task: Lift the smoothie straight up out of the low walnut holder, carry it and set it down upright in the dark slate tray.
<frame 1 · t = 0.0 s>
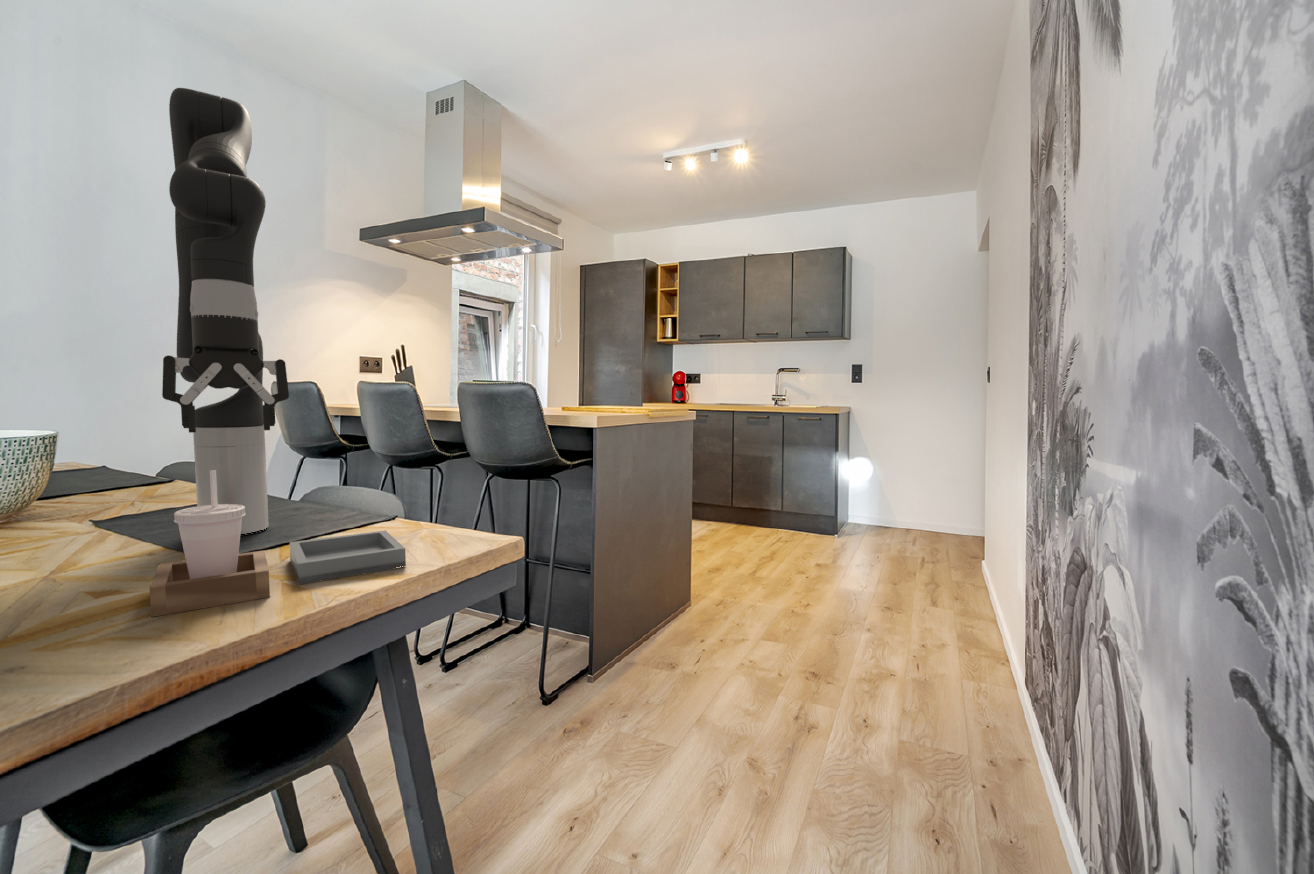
hand: (230, 431, 81), 17 cm above the table, tool pointing down, fingers open, 8 cm apart
holder: (214, 593, 65), on the table
smoothie: (214, 594, 65), resting in holder
tray: (347, 563, 76), on the table
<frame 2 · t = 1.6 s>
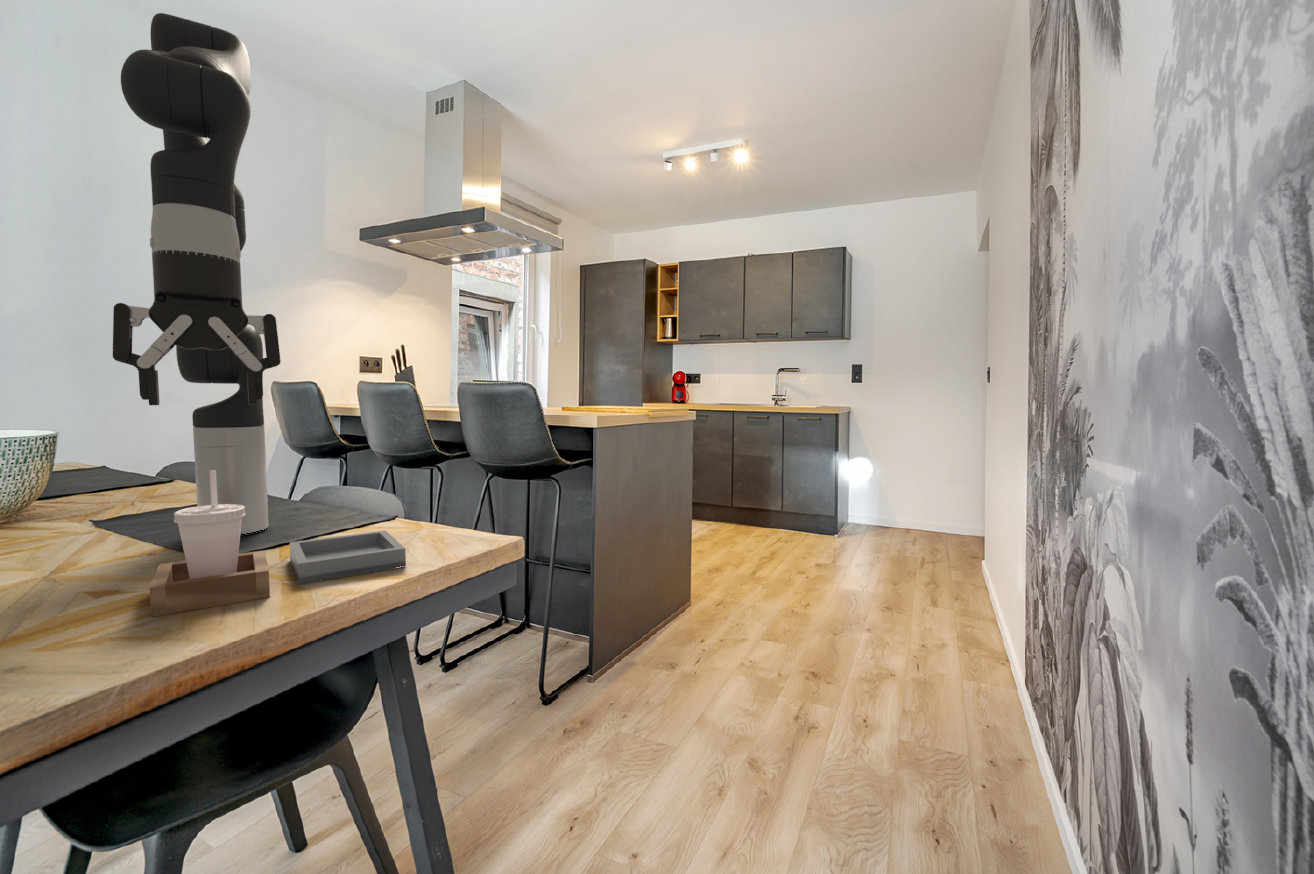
hand: (205, 404, 63), 21 cm above the table, tool pointing down, fingers open, 8 cm apart
nothing on the table moved.
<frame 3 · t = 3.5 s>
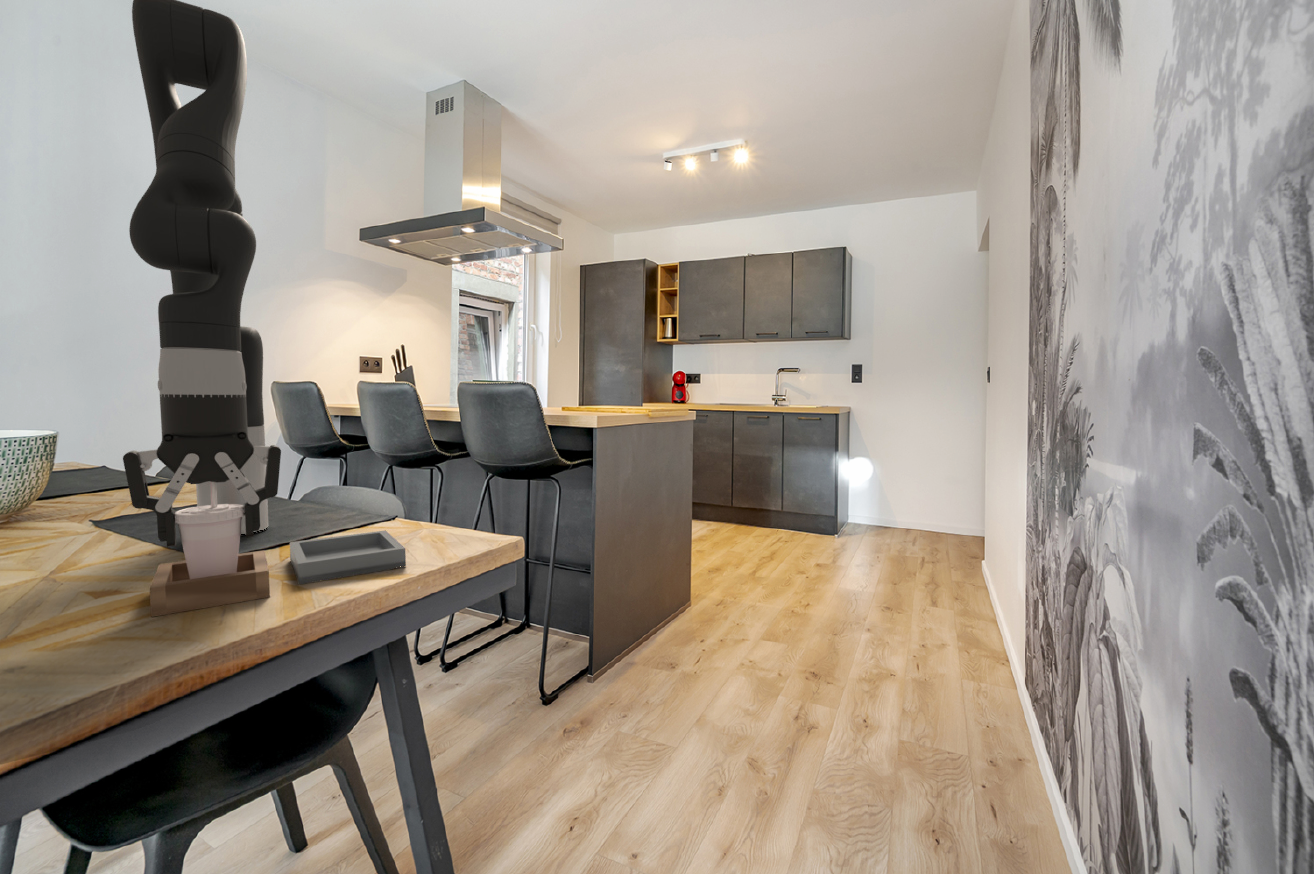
hand: (211, 539, 64), 6 cm above the table, tool pointing down, fingers closed on smoothie, 6 cm apart
smoothie: (214, 594, 65), resting in holder, touching gripper
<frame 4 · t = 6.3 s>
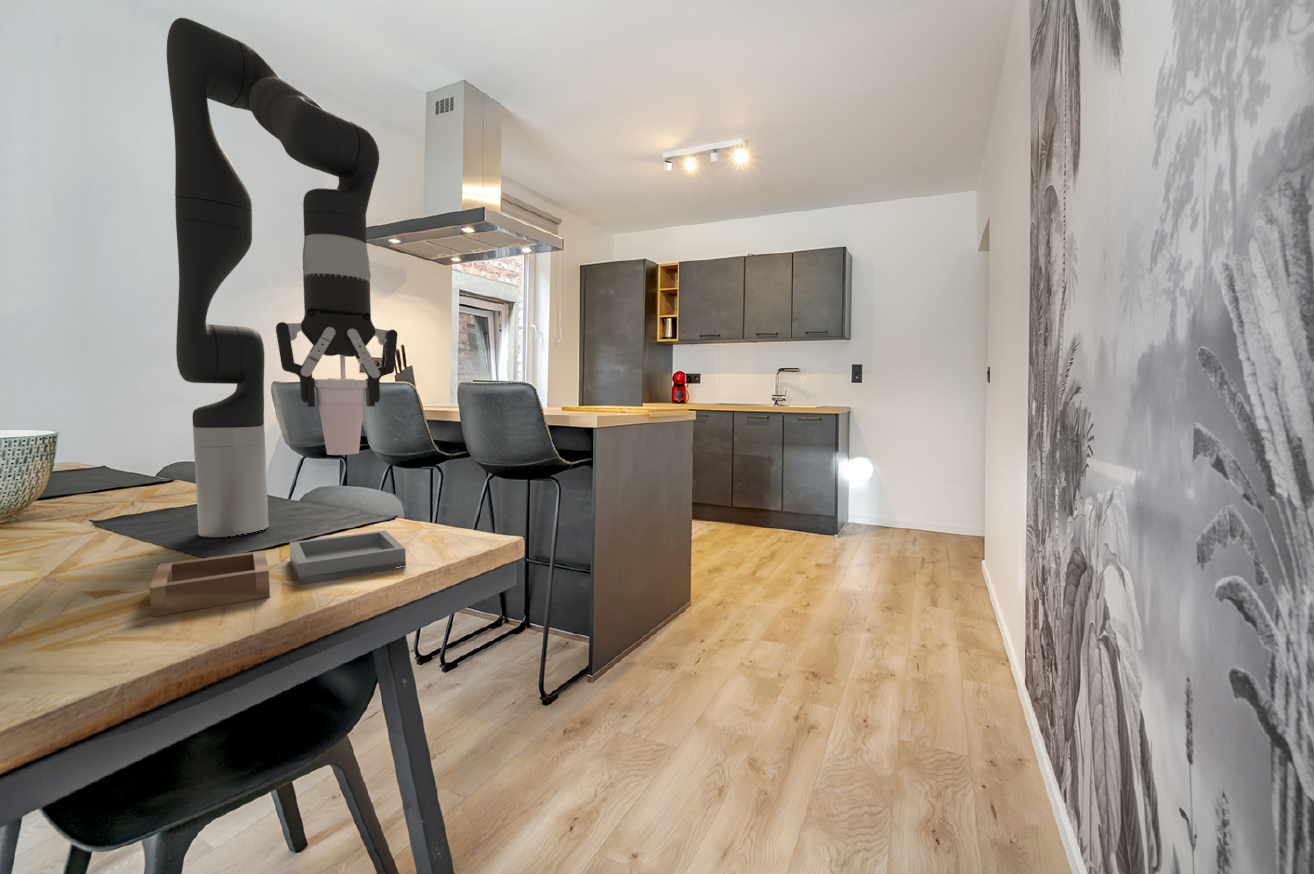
hand: (341, 406, 75), 21 cm above the table, tool pointing down, fingers closed on smoothie, 6 cm apart
smoothie: (343, 454, 75), point 15 cm above the table, touching gripper
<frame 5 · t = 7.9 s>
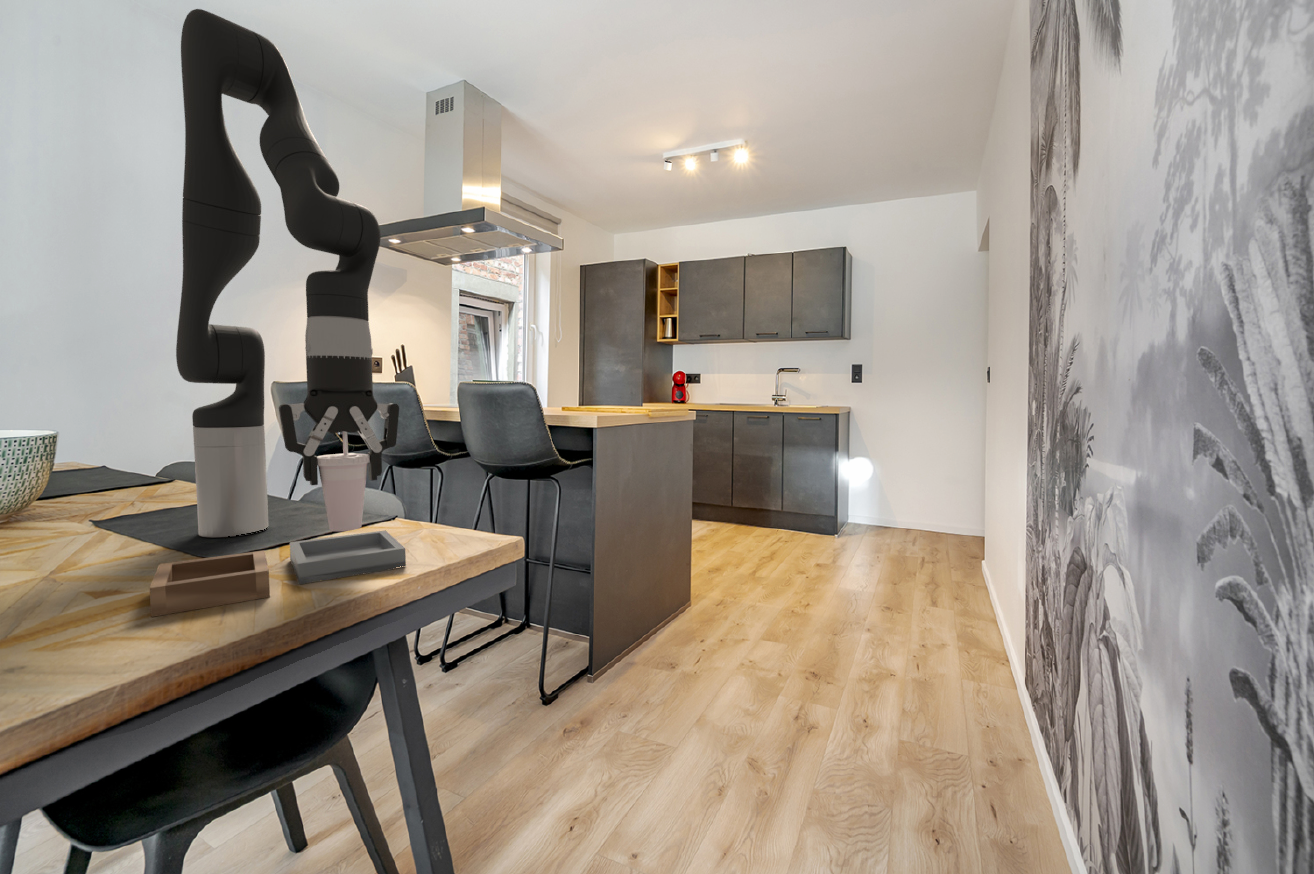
hand: (343, 481, 76), 11 cm above the table, tool pointing down, fingers closed on smoothie, 6 cm apart
smoothie: (345, 529, 76), point 5 cm above the table, touching gripper
when the fingers open (9 cm above the table, at t = 9.1 s): smoothie drops 2 cm, resting on tray.
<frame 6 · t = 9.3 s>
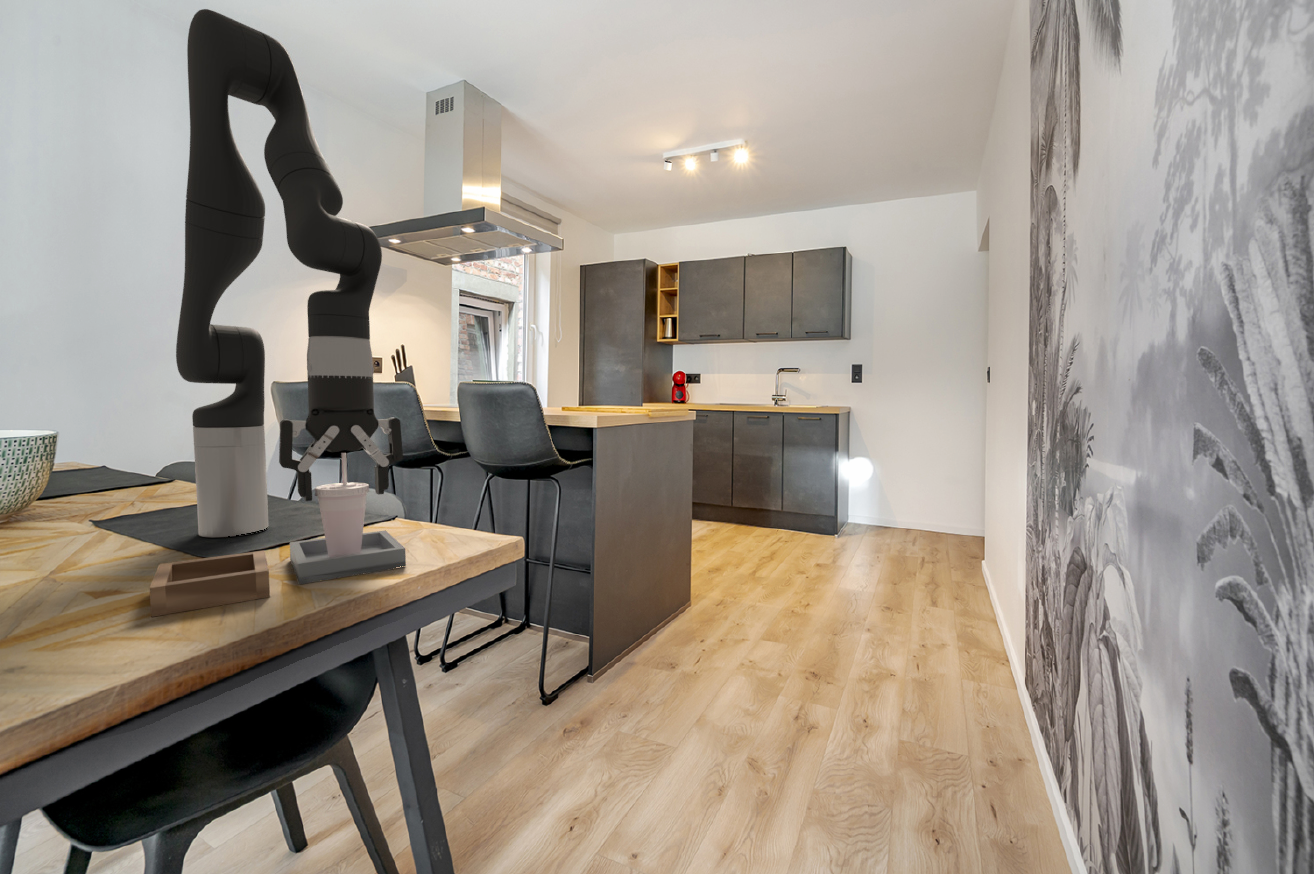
hand: (344, 496, 76), 9 cm above the table, tool pointing down, fingers open, 8 cm apart
smoothie: (344, 559, 76), point 1 cm above the table, touching tray
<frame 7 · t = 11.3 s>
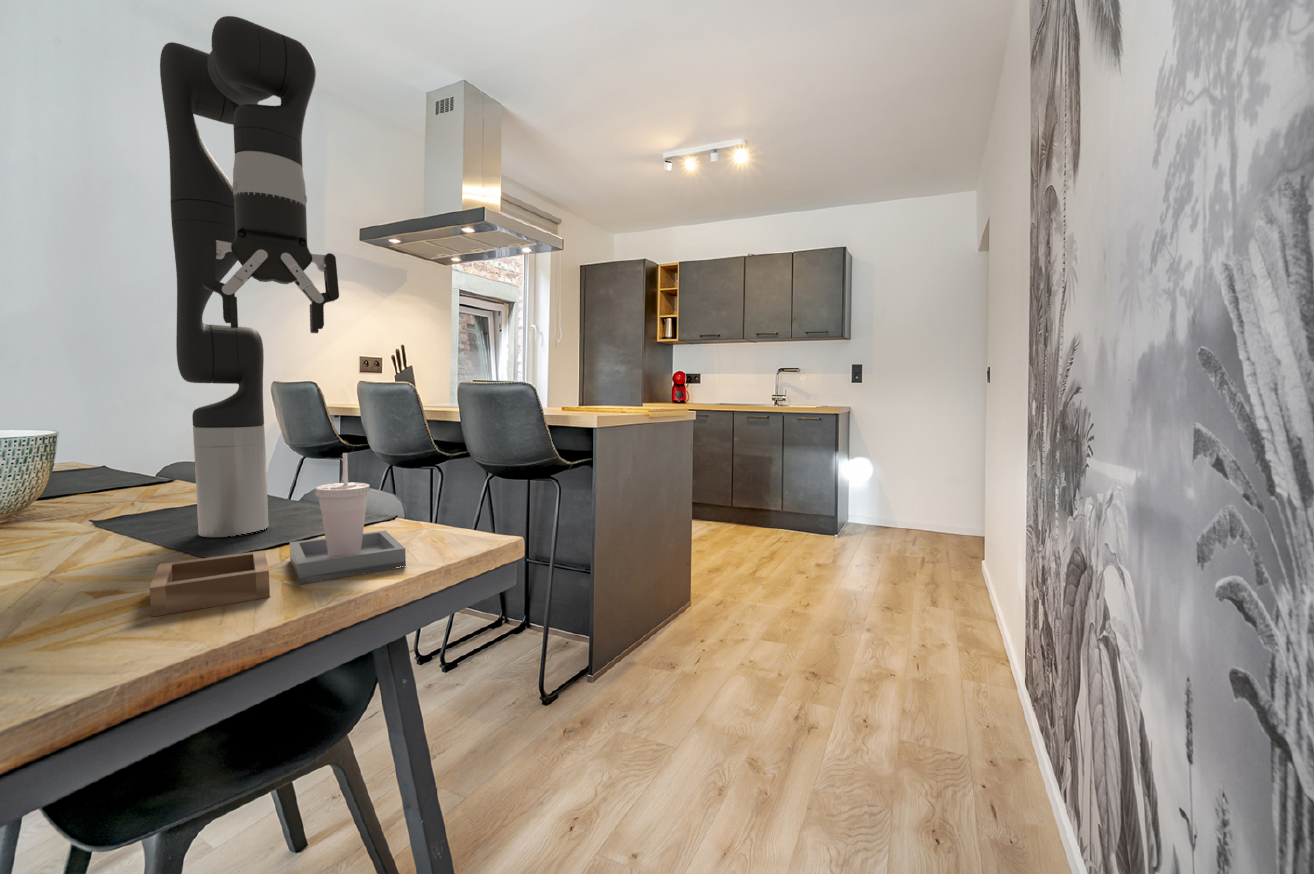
hand: (275, 330, 73), 31 cm above the table, tool pointing down, fingers open, 8 cm apart
nothing on the table moved.
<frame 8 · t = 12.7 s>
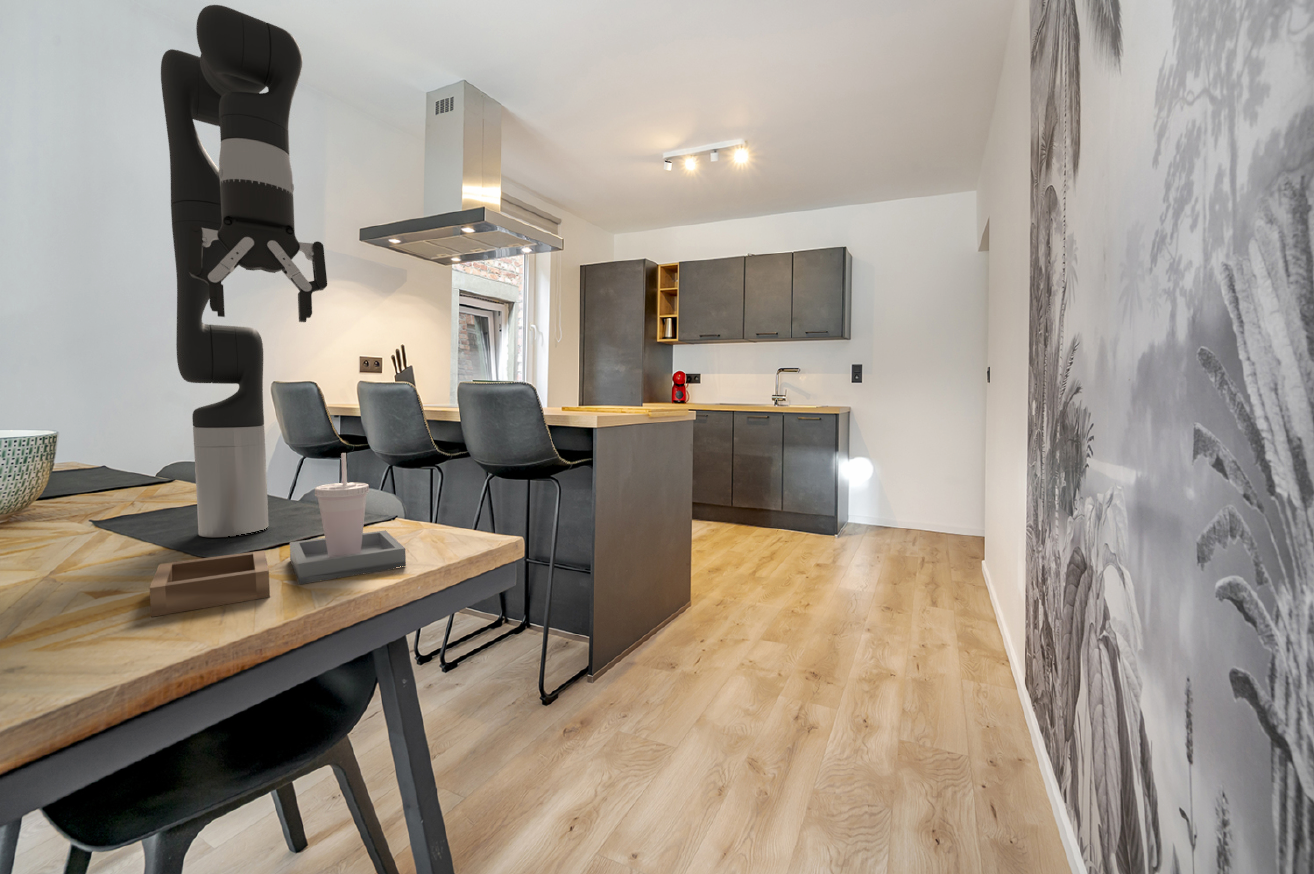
hand: (263, 319, 72), 32 cm above the table, tool pointing down, fingers open, 8 cm apart
nothing on the table moved.
at the end: smoothie inside the target area on the tray (0.2 cm from its centre), point 0.6 cm above the tray's base; smoothie tilted 0°; the gripper is holding nothing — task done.
